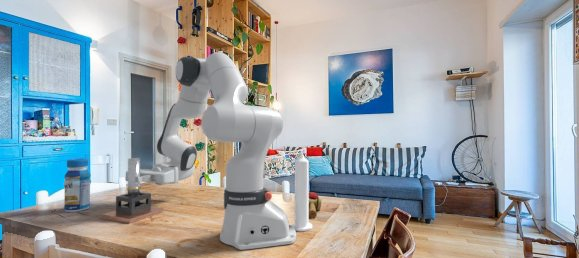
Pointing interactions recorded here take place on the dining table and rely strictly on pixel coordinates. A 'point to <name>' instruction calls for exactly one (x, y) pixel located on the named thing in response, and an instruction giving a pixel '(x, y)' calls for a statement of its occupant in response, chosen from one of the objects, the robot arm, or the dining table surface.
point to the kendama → (314, 204)
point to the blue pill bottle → (77, 186)
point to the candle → (301, 194)
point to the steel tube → (133, 178)
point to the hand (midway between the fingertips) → (131, 179)
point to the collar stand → (132, 209)
